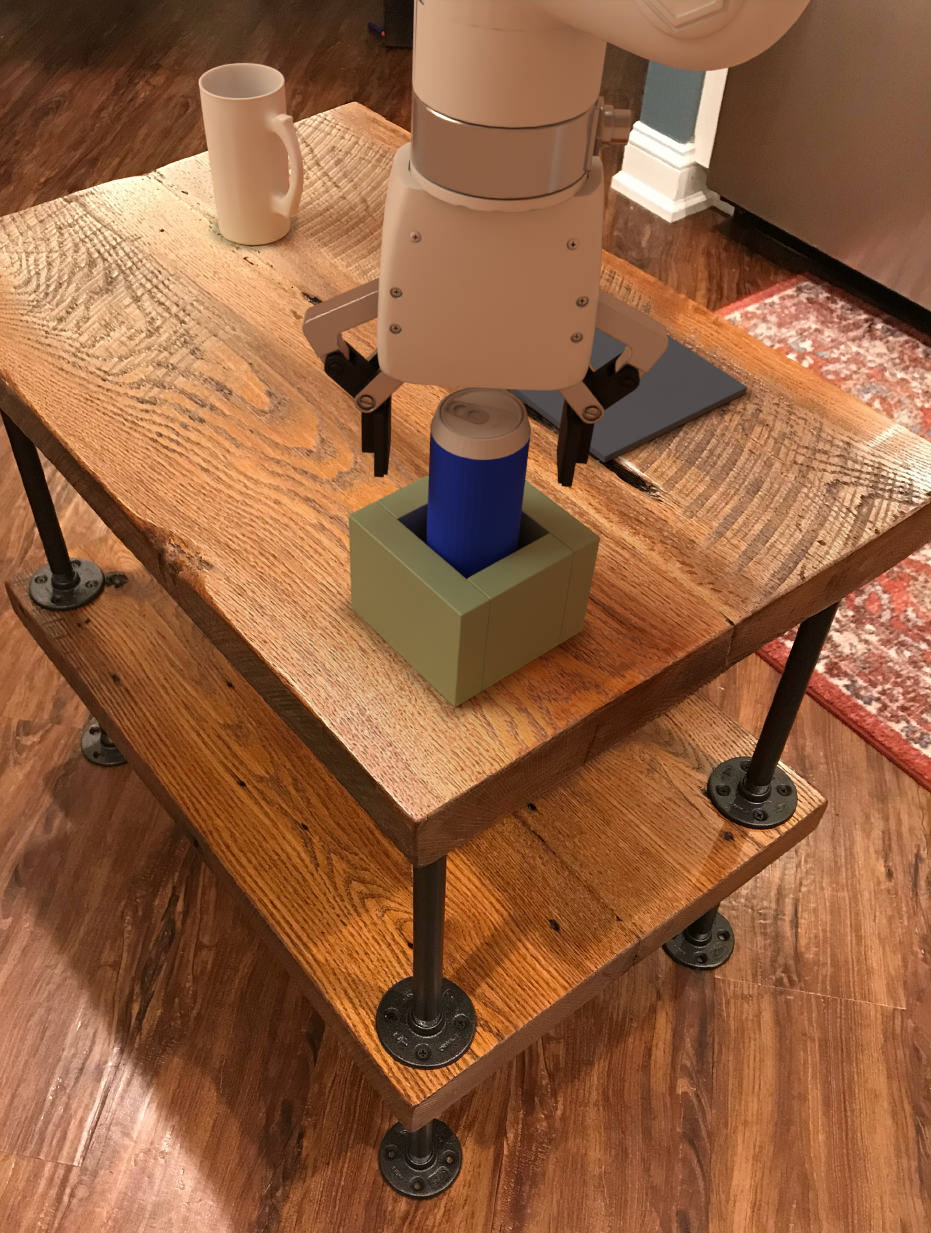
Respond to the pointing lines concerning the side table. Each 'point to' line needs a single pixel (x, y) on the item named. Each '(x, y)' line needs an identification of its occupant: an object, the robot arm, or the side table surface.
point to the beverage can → (476, 477)
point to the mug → (251, 152)
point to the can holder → (469, 591)
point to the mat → (646, 397)
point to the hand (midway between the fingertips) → (472, 465)
